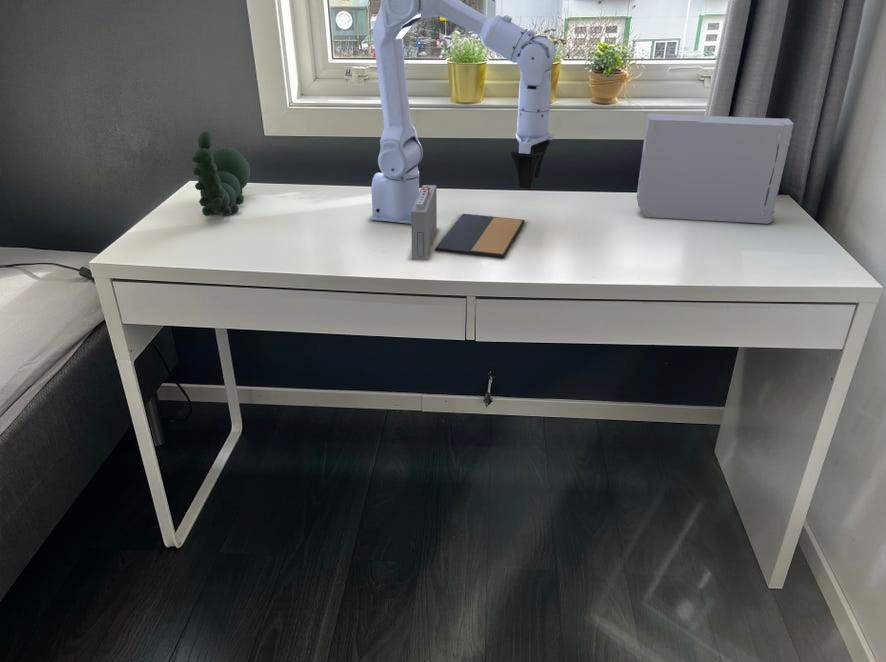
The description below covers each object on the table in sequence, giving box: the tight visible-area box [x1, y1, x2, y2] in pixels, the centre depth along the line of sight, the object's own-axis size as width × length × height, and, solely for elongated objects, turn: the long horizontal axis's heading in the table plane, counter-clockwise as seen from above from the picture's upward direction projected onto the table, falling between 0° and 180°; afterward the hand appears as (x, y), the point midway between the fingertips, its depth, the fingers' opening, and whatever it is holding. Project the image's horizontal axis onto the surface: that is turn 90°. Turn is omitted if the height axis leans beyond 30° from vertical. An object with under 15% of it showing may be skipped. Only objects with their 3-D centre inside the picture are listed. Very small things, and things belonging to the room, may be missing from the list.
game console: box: [636, 112, 794, 225], centre depth 153 cm, size 6×27×20 cm, turn 81°
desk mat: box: [435, 213, 526, 259], centre depth 148 cm, size 13×20×1 cm, turn 164°
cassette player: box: [410, 184, 438, 261], centre depth 142 cm, size 16×3×10 cm, turn 174°
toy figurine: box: [192, 130, 251, 217], centre depth 158 cm, size 9×19×25 cm
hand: (529, 181), depth 146 cm, fingers open, 7 cm apart
